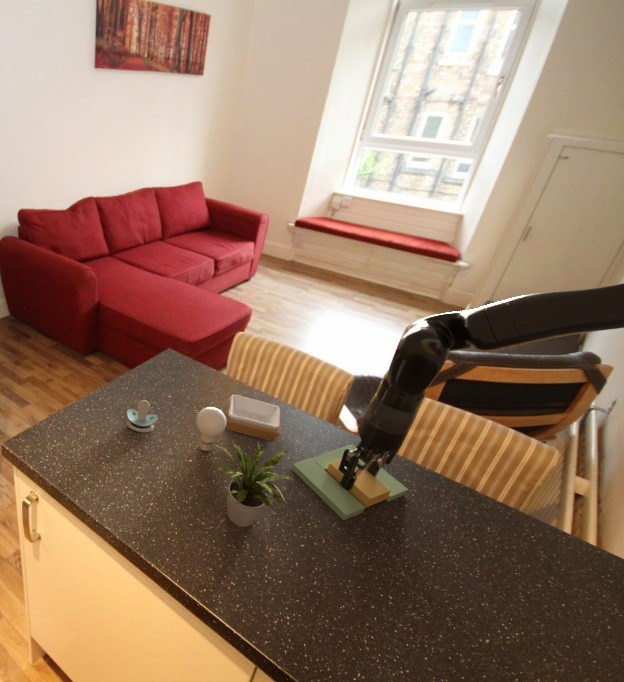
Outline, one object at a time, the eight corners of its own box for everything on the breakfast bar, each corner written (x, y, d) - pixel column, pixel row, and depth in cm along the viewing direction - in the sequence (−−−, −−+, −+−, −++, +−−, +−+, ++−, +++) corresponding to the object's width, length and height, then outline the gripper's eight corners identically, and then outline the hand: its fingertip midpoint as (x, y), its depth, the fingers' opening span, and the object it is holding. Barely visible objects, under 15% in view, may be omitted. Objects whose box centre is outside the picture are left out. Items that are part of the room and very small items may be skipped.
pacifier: (153, 437, 101) (158, 420, 106) (156, 416, 98) (161, 400, 103) (122, 429, 103) (128, 413, 108) (124, 408, 100) (130, 393, 105)
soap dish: (221, 431, 105) (225, 414, 102) (225, 407, 113) (229, 391, 110) (276, 446, 102) (281, 429, 99) (276, 420, 110) (281, 404, 107)
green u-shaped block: (343, 520, 85) (346, 515, 84) (290, 468, 96) (292, 463, 95) (405, 494, 92) (408, 489, 91) (350, 449, 103) (352, 444, 102)
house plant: (191, 535, 80) (208, 469, 71) (199, 479, 91) (214, 417, 83) (273, 558, 77) (300, 493, 69) (271, 497, 88) (294, 435, 80)
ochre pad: (345, 464, 97) (349, 456, 96) (386, 499, 89) (391, 490, 88) (325, 471, 95) (329, 463, 93) (365, 507, 87) (370, 499, 86)
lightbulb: (184, 448, 99) (192, 409, 93) (200, 435, 103) (209, 397, 98) (209, 463, 95) (219, 424, 90) (224, 449, 99) (234, 410, 94)
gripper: (378, 441, 78) (346, 507, 86) (431, 423, 83) (396, 487, 92) (344, 415, 83) (316, 479, 92) (395, 400, 89) (365, 461, 97)
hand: (356, 482), depth 92 cm, fingers closed on ochre pad, 6 cm apart
